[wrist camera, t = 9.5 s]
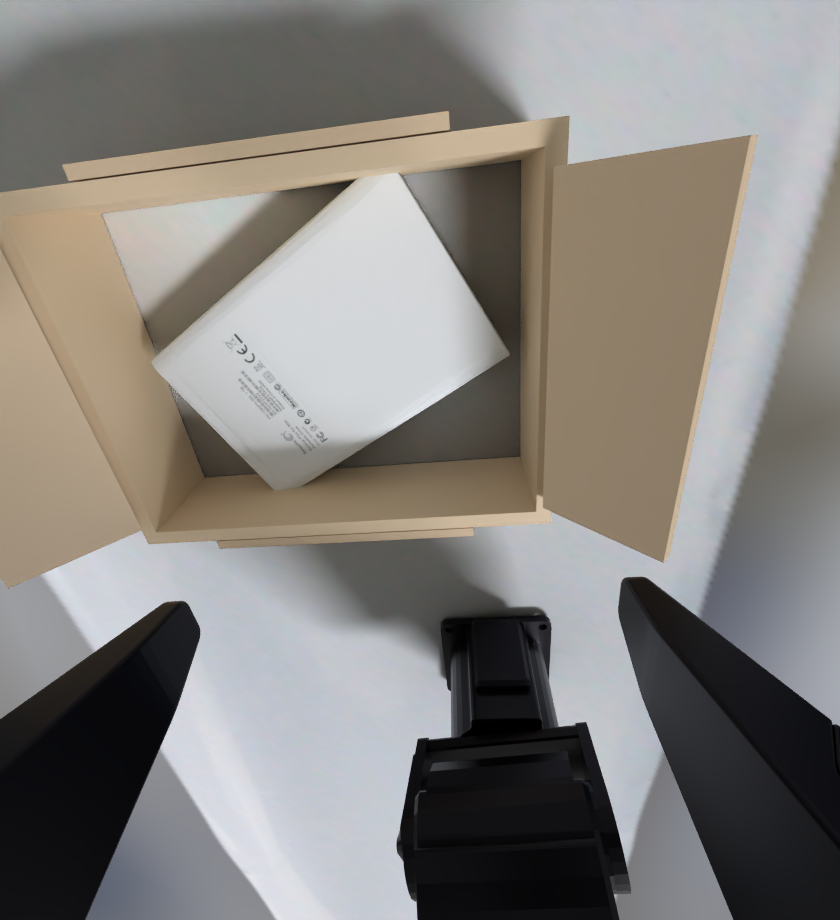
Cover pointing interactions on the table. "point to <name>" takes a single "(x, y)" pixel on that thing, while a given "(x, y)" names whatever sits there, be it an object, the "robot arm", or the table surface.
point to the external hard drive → (334, 337)
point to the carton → (148, 394)
